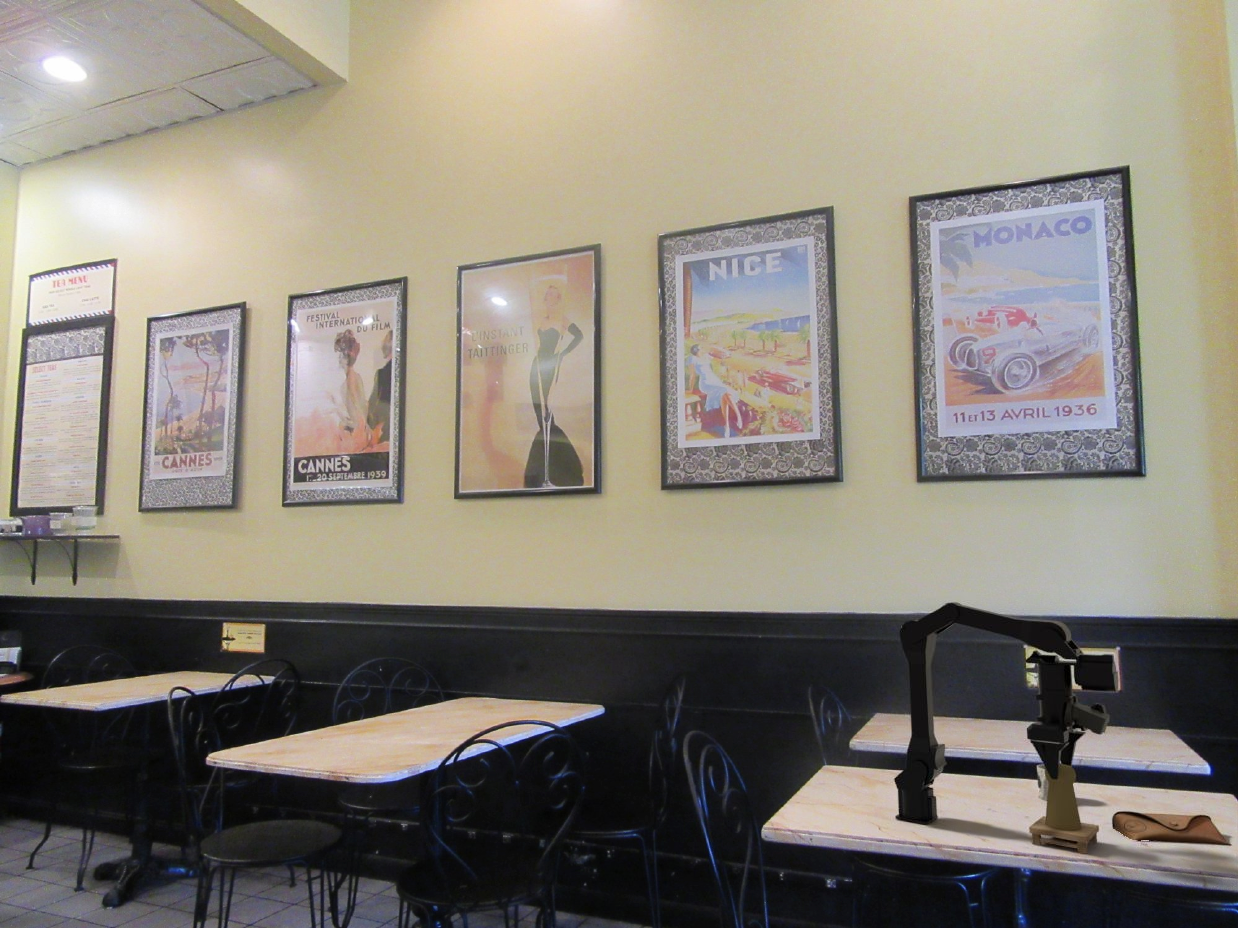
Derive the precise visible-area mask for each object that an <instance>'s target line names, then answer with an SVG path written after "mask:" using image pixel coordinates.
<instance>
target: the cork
mask: <svg viewBox="0 0 1238 928" xmlns="http://www.w3.org/2000/svg"><path fill="white" fill-rule="evenodd" d="M1045 776H1046V779H1047V780H1048V795H1047V801H1046V809H1045V817H1046V820H1045V825H1046V826H1048V827H1051V828H1054V829H1059V830H1066V831H1077V830H1081V829H1082V827H1081V817H1080V813H1079V808H1078V803H1077V798H1076V797H1077V796H1076V793H1075V787H1074V783H1075V782H1076V780H1077V779H1076V778H1077V774H1076V770H1075V769H1074V767H1071V766H1069V765H1065V764H1061V763H1060V766H1059V775H1058V779H1057V780H1055V779H1051V777H1050V776H1049V774H1048V772H1047V770H1046V768H1045Z"/></svg>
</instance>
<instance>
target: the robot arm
mask: <svg viewBox="0 0 1238 928" xmlns="http://www.w3.org/2000/svg"><path fill="white" fill-rule="evenodd" d="M955 624H958V625H962V626H966V627H970V628H975V629H978V630H982V631H986V632H989V633H994V634H998V635H1002V636H1005V637H1011V638H1013V639H1015V640H1018V641H1020V642H1022V643H1023V644H1026V645H1028V646H1030V647H1032V648H1035V649H1036V650H1033V651H1032V653H1031V655H1030V656H1028V657H1027V658H1026V659H1025V661H1024V662H1025V663H1026V664H1036V665H1037V666H1036V667H1037V680H1038V693H1036V695H1035V697H1036V699H1035V700H1036V701H1037V700H1038V701H1039V716H1037V721H1035V722H1033V723H1031V724H1029V726H1028V727H1027V728H1026V736H1027V737H1026V738H1027V739H1028V740H1029V742H1030V744H1032V746H1033V747H1034V749H1035V752H1036V753H1037V754H1038V756H1039V758H1040V761H1041V762H1042V765H1043V764H1044V766H1045V768H1046V770H1047V772H1048V774H1049V776H1050V777H1051V779H1055V780H1057V779H1058V775H1059V766H1060V764H1065V765H1069V766H1071V767H1072V766H1073V760H1074V757H1075V756H1074V755H1075V752H1076V751H1075V750H1076V746H1077V743H1078V741H1079V740H1080V739H1081V738H1082V737H1084V736H1085V735H1086V733H1087V731H1088V730H1089V731H1091V733H1094V734H1096V735H1099V736H1100V735H1102V734H1103V733H1106V729H1107V728H1108V723H1110V722H1111V721H1110V717H1111V715H1110V714H1108V713H1107V709H1106V706H1105V704H1104V705H1103V704H1101V703H1099V702H1095V703H1094V704H1093V705H1091V706H1089V705H1085V704H1082V703H1080V702H1079V697H1078V696H1077V694H1075V693H1074V690H1073V689H1074V688H1073V679H1074V684H1075V685H1077V686H1078V687H1081V690H1082V691H1084V692H1085V691H1086V692H1101V693H1114V694H1115V693H1116V694H1117V693H1119V692H1118V691H1119V672H1118V670H1117V665H1116V661H1115V655H1114V654H1112V653H1111V654H1110V653H1104V654H1091V653H1090V654H1089V653H1084V652H1083V651H1082V650H1081V648H1080V647H1079V646H1078V645H1077V644H1076V643H1075V641H1074V640H1073V639H1072V634H1071V631H1070V629H1069V627H1068V626H1067V625H1066V624H1065V623H1063V622H1061V621H1059V620H1051V619H1050V620H1049V619H1035V618H1033V619H1032V618H1020V617H1016V616H1010V615H1006V614H1001V613H998V612H993V611H991V610H990V611H989V610H986V609H981V608H977V607H972V606H968V605H963V604H962V603H960V602H957V601H956V602H954V601H953V602H946V603H944V604H943V605H942V606H941V607H939V608H937V609H936V610H934V611H932V612H930V613H928V614H926V615H925V616H923V617H921V618H919V619H914V620H912V619H911V620H907V621H906V622H904V623H903V624H902V625H901V626H900V629H899V632H898V636H899V639H900V640H899V641H900V645H901V650H902V653H903V655H904V657H905V660H906V663H907V667H908V668H907V669H908V684H909V685H908V687H909V705H910V706H909V708H910V709H909V710H910V729H911V735H910V739H909V743H908V747H907V750H906V756H905V764H904V765H905V766H904V769H903V770H902V771H901V772H899V774H898V775H896V776H895V777H894V778H893V779H894V784H895V785H896V786H895V787H896V789H897V801H898V803H897V804H898V805H897V806H898V814H897V815H895V819H896V820H900V821H901V820H902V821H907V822H912V823H917V824H922V825H928V824H930V823H931V822H934V821H935V820H937V819H938V818H939V816H938V810H937V809H938V808H937V807H938V806H937V805H938V804H937V796H936V795H935V793H934V787H930V786H932V785H934V783H935V780H936V778H938V777H939V776H940V775H941V774H942V773H943V770H944V767H945V766H946V765H947V764H948V763H947V761H946V756H945V752H946V744H945V743H938V740H937V737H936V735H935V725H934V722H935V721H934V703H933V684H932V683H933V682H932V661H933V658H934V655H935V650H936V645H937V636H938V635H940V634H941V633H943V632H945V631H946V630H947V629H949V628H950V627H952V626H953V625H955ZM1040 651H1042V652H1044V653H1048V654H1042V653H1040ZM1054 654H1055V655H1054ZM1059 657H1061V659H1064V660H1060V658H1059ZM1070 660H1071V661H1070ZM1072 667H1073V674H1072ZM1072 675H1073V676H1072ZM1079 729H1080V730H1081V731H1079Z"/></svg>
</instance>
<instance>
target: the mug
mask: <svg viewBox="0 0 1238 928" xmlns="http://www.w3.org/2000/svg"><path fill="white" fill-rule="evenodd" d="M1036 775H1037V791H1038V798H1039V799H1040V800H1042V801H1045V800H1046V802H1047V795H1048V780H1047V779H1046V776H1045V766H1044V764H1043V763H1042V764H1038V765H1036Z"/></svg>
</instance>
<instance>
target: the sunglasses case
mask: <svg viewBox="0 0 1238 928" xmlns="http://www.w3.org/2000/svg"><path fill="white" fill-rule="evenodd" d="M1111 825H1112V829H1115V830H1116V832H1117V831H1118V832H1117V833H1119V832H1120V833H1121V834H1120V833H1119V834H1120V835H1122V834H1123V835H1122V836H1123V837H1125V836H1126V837H1128V838H1129V839H1128V838H1127V839H1128V840H1130V839H1132V840H1138V841H1137V842H1142V841H1141V840H1149V841H1148V842H1157V841H1161V842H1162V843H1181V844H1183V843H1185V844H1187V843H1188V844H1203V845H1205V844H1206V845H1220V846H1221V845H1222V846H1232V843H1230V842H1229V841H1227V840H1226V838H1225V837H1224V836H1223V834H1222V833H1221V832H1220V831H1219V829H1218V828H1217V826H1216V825H1215V823H1214V822H1213V821H1212V818H1211V817H1210V816H1209V815H1205V814H1195V815H1193V814H1192V815H1188V814H1187V815H1186V814H1171V813H1147V812H1138V811H1131V810H1130V811H1129V810H1124V811H1123V810H1121V811H1116V812H1115V813H1114V814H1113V815H1112V818H1111ZM1115 830H1114V831H1115ZM1126 837H1125V838H1126ZM1161 842H1160V843H1161Z"/></svg>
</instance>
